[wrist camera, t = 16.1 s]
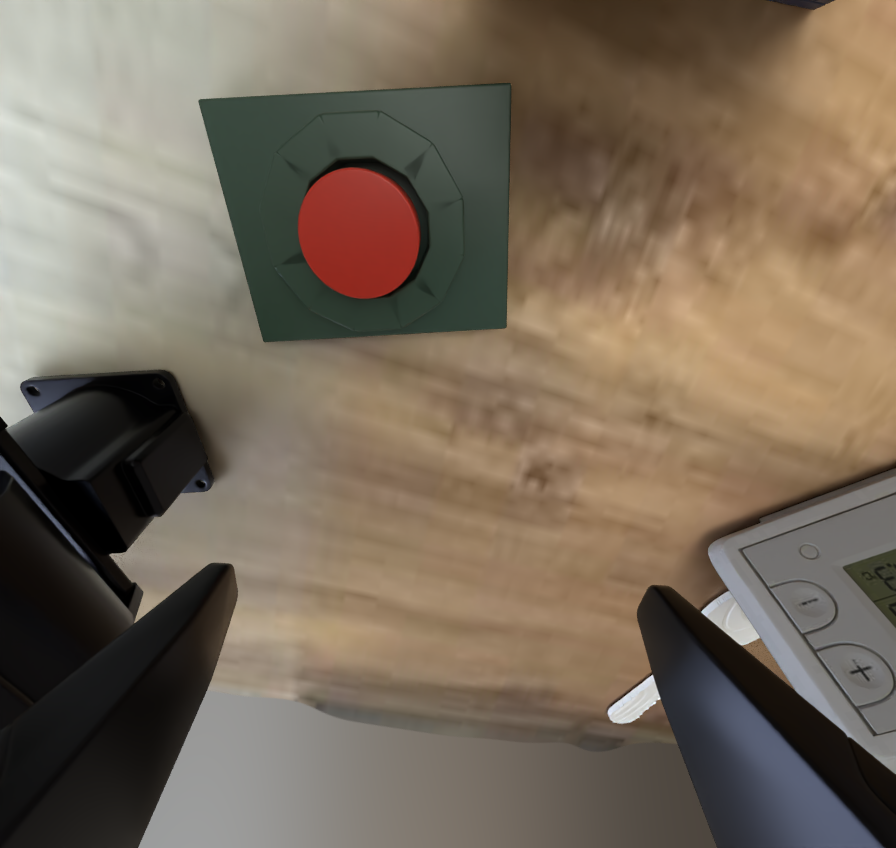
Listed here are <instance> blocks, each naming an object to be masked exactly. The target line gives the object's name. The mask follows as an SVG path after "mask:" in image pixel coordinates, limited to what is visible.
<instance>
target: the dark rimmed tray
mask: <svg viewBox="0 0 896 848" xmlns="http://www.w3.org/2000/svg"><path fill="white" fill-rule="evenodd" d="M768 1H773V2H778V3H783V4H788V5H793V6H798V7H803V8H808V9H813V10H815V9H817V8H819V7H822V6H824V5H825V4H828V3H830V2H832V1H834V0H768Z"/></svg>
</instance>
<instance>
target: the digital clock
mask: <svg viewBox="0 0 896 848" xmlns="http://www.w3.org/2000/svg"><path fill="white" fill-rule="evenodd" d="M759 520H760V523H759V524H757V525H754V526H751V527H748V528H746V529H743V530H740V531H738V532H735V533H732V534H729V535H727V536H724V537H722V538H720V539H718V540H716V541H714V542H713V543H712V544H711V545H710V546H709V548H708V554H709V558H710V560H711V562H712V565H713V566H714V568H715V570H716V571H717V573H718V574H719V576H720V577H721V579H722V580H723V582H724V584H725V585H726V587H727V588H728V590H729V591H730V593H731V594H732V596H733V597H734V599H735V600H736V602H737V603H738V605H739V606H740V608H741V609H742V611H743V612H744V614H745V615H746V617H747V618H748V620H749V621H750V623H751V624H752V626H753V627H754V629H755V630H756V632H757V633H758V635H759V636H760V638H761V639H762V641H763V642H764V644H765V645H766V647H767V649H768V650H769V652H770V653H771V655H772V656H773V658H774V659H775V661H776V662H777V664H778V665H779V667H780V668H781V670H782V671H783V673H784V674H785V676H786V677H787V679H788V680H789V682H790V683H791V685H792V686H793V688H794V689H795V691H796V692H797V693H798V694H799V695H801V696H802V697H803V698H804V699H805V700H807V701H808V702H809V703H810V704H811V705H813V706H814V707H815V708H816V709H817V710H819V711H820V712H821V713H822V714H823V715H825V716H826V717H827V718H828V719H829V720H831V721H832V722H833V723H834V724H835V725H837V726H838V727H839V728H840V729H841V730H843V731H844V732H845V733H846V735H847V737H851V738H852V739H854V740H855V741H856V742H857V743H858V744H860V745H861V746H862V747H863V748H864V749H865V750H867V751H868V752H869V753H870V754H871V755H873V756H874V757H875V758H876V759H878V760H879V761H880V762H881V763H882V764H884V765H885V766H886V767H887V768H889V769H890V770H891V771H892V772H893V773H895V774H896V468H895V469H892V470H889V471H887V472H884V473H881V474H878V475H876V476H873V477H870V478H868V479H865V480H862V481H860V482H857V483H854V484H852V485H849V486H846V487H843V488H841V489H838V490H835V491H833V492H830V493H827V494H825V495H822V496H819V497H816V498H814V499H811V500H808V501H806V502H803V503H800V504H798V505H795V506H792V507H790V508H787V509H784V510H781V511H779V512H776V513H773V514H771V515H768V516H765V517H763V518H760V519H759Z"/></svg>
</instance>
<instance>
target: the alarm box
mask: <svg viewBox="0 0 896 848" xmlns="http://www.w3.org/2000/svg"><path fill="white" fill-rule="evenodd" d="M199 105H200V109H201V113H202V116H203V120H204V124H205V127H206V131H207V135H208V139H209V142H210V146H211V150H212V153H213V157H214V161H215V164H216V168H217V172H218V175H219V179H220V183H221V187H222V190H223V194H224V198H225V201H226V205H227V209H228V212H229V216H230V220H231V223H232V227H233V231H234V235H235V238H236V242H237V246H238V249H239V253H240V257H241V260H242V264H243V268H244V271H245V275H246V279H247V282H248V286H249V290H250V294H251V297H252V301H253V305H254V308H255V312H256V316H257V319H258V323H259V327H260V330H261V334H262V338H263V341H264V342H277V341H295V340H312V339H329V338H346V337H364V336H381V335H398V334H415V333H433V332H450V331H467V330H484V329H502V328H506V327H507V282H508V233H509V183H510V134H511V83H496V84H477V85H458V86H439V87H420V88H402V89H383V90H364V91H345V92H326V93H308V94H289V95H270V96H251V97H232V98H214V99H200V100H199ZM349 167H354V168H363V169H368V170H372V171H375V172H378V173H381V174H383V175H385V176H387V177H389V178H390V179H392V180H393V181H395V182H396V183H397V184H398V185H399V186H401V188H402V189H403V190H404V191H405V192H406V193H407V195H408V196H409V198H410V199H411V201H412V203H413V204H414V206H415V209H416V211H417V214H418V218H419V222H420V229H421V239H420V247H419V252H418V256H417V260H416V263H415V265H414V267H413V269H412V271H411V273H410V274H409V276H408V277H407V279H406V280H405V281H404V282H403V283H402V284H401V285H400V286H399V287H398V288H396V289H395V290H393V291H392V292H390V293H388V294H386V295H383V296H380V297H376V298H370V299H359V298H353V297H349V296H345V295H343V294H341V293H338V292H336V291H335V290H333V289H331V288H330V287H328V286H327V285H326V284H324V283H323V282H322V281H321V280H320V279H319V278H318V277H317V276H316V274H315V273H314V272H313V271H312V269H311V268H310V266H309V265H308V263H307V261H306V259H305V257H304V255H303V252H302V249H301V246H300V242H299V236H298V217H299V212H300V208H301V205H302V202H303V200H304V198H305V196H306V194H307V192H308V191H309V189H310V188H311V187H312V186H313V184H315V183H316V182H317V181H318V180H319V179H320V178H322V177H323V176H324V175H326V174H328V173H330V172H332V171H335V170H338V169H342V168H349Z"/></svg>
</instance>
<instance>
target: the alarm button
mask: <svg viewBox="0 0 896 848" xmlns="http://www.w3.org/2000/svg"><path fill="white" fill-rule="evenodd" d="M298 236H299V242H300V246H301V249H302V252H303V255H304V257H305V259H306V261H307V263H308V265H309V266H310V268H311V269H312V271H313V272H314V273H315V274H316V276H317V277H318V278H319V279H320V280H321V281H322V282H323V283H324V284H326V285H327V286H328V287H330V288H331V289H333V290H335V291H336V292H338V293H341V294H343V295H345V296H349V297H353V298H359V299H370V298H376V297H380V296H383V295H386V294H388V293H390V292H392V291H393V290H395V289H396V288H398V287H399V286H400V285H401V284H402V283H403V282H404V281H405V280H406V279H407V277H408V276H409V274H410V273H411V271H412V269H413V267H414V265H415V263H416V260H417V256H418V252H419V247H420V239H421V229H420V222H419V218H418V214H417V211H416V209H415V206H414V204H413V203H412V201H411V199H410V198H409V196H408V195H407V193H406V192H405V191H404V190H403V189H402V188H401V186H399V185H398V184H397V183H396V182H395V181H393V180H392V179H390V178H389V177H387V176H385V175H383V174H381V173H378V172H375V171H372V170H368V169H363V168H354V167H349V168H342V169H338V170H335V171H332V172H330V173H328V174H326V175H324V176H323V177H322V178H320V179H319V180H318V181H317V182H316V183H315V184H313V186H312V187H311V188H310V189H309V191H308V192H307V194H306V196H305V198H304V200H303V202H302V205H301V208H300V212H299V217H298Z"/></svg>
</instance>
